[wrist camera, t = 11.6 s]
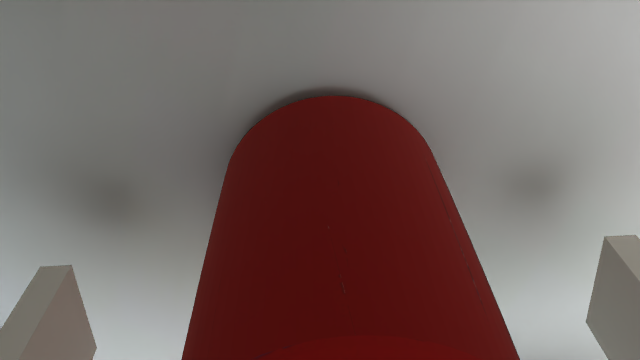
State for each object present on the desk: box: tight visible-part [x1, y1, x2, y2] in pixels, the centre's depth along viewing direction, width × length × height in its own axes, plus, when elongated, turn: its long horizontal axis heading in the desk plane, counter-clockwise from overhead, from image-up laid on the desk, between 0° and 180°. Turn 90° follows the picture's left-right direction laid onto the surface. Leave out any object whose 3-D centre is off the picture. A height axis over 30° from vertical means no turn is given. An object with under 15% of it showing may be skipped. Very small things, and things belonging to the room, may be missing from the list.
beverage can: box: [182, 96, 520, 360], centre depth 14 cm, size 7×7×12 cm
